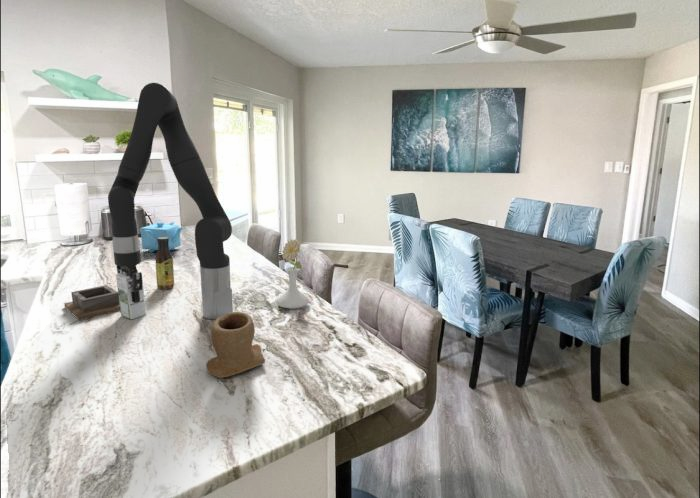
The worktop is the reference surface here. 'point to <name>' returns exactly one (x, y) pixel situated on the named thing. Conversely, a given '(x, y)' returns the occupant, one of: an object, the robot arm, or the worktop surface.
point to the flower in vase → (292, 279)
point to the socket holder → (93, 302)
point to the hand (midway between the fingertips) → (131, 299)
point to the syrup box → (129, 298)
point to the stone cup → (233, 345)
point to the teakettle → (160, 235)
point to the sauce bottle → (164, 265)
